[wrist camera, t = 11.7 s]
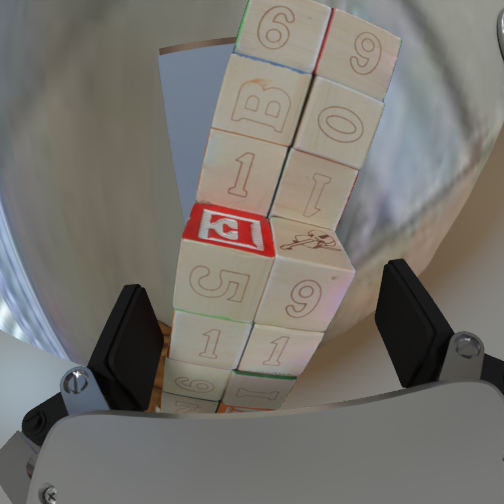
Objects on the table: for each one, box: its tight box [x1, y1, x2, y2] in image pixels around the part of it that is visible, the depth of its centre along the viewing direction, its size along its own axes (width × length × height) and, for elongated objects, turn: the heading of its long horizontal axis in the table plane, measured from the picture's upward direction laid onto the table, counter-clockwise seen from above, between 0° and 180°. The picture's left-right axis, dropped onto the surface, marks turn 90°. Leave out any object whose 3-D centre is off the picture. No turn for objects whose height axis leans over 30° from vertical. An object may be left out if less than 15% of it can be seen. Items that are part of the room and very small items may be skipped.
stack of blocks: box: [160, 0, 402, 414], centre depth 16 cm, size 21×6×12 cm, turn 165°
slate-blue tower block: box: [158, 43, 235, 226], centre depth 24 cm, size 10×23×4 cm, turn 5°
